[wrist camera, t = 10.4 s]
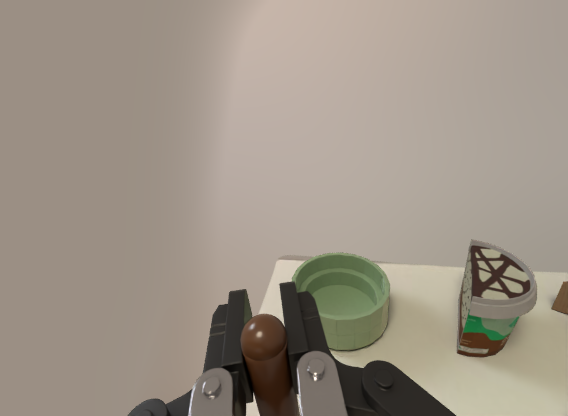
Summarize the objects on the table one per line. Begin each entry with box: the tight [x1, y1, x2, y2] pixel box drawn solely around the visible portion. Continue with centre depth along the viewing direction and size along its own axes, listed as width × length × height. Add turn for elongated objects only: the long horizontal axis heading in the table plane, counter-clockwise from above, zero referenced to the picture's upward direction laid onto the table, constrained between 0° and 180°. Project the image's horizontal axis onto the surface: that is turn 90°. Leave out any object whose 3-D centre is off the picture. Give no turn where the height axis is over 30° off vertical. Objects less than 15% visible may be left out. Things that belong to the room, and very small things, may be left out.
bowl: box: [292, 253, 390, 350], centre depth 39 cm, size 13×13×6 cm
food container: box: [457, 240, 537, 357], centre depth 32 cm, size 12×6×10 cm, turn 149°
